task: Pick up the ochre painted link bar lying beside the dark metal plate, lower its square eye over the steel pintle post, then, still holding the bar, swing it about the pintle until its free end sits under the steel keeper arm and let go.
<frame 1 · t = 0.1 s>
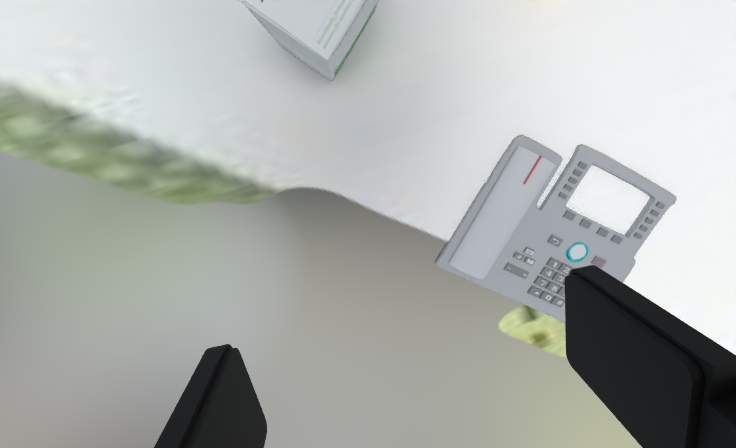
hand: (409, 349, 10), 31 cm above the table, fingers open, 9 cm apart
office telephone: (552, 229, 45), on the table
skincare box: (325, 23, 35), on the table
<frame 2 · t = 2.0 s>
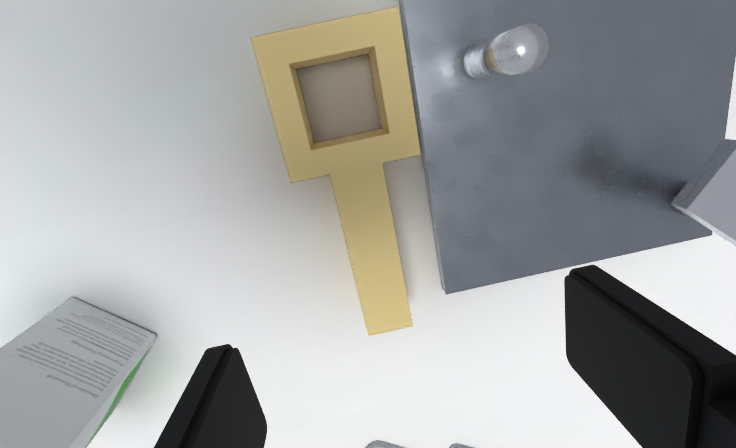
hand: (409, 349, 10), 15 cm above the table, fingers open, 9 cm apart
pintle plate: (569, 124, 24), on the table
skincare box: (94, 351, 27), on the table
link: (383, 302, 27), on the table
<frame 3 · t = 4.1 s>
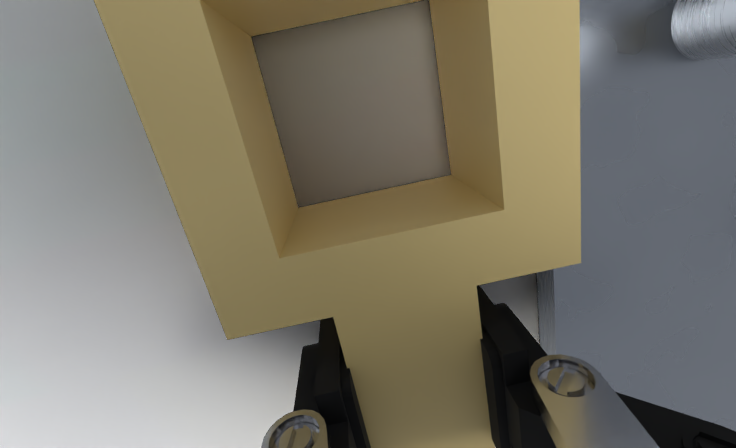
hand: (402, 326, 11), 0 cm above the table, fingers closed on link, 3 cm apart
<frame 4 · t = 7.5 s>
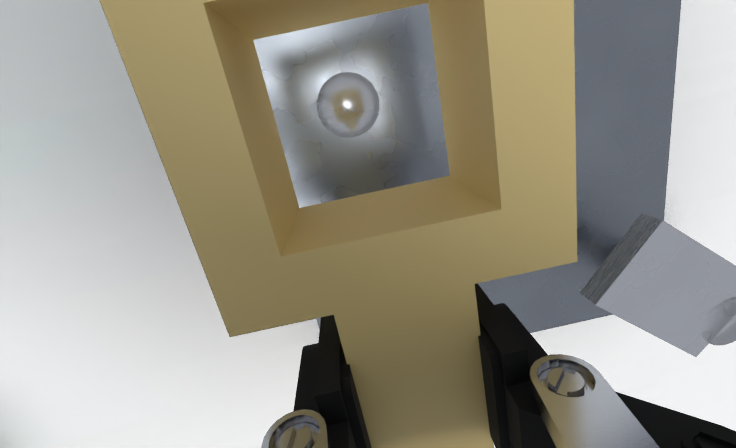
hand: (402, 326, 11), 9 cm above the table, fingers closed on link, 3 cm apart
pintle plate: (473, 176, 20), on the table
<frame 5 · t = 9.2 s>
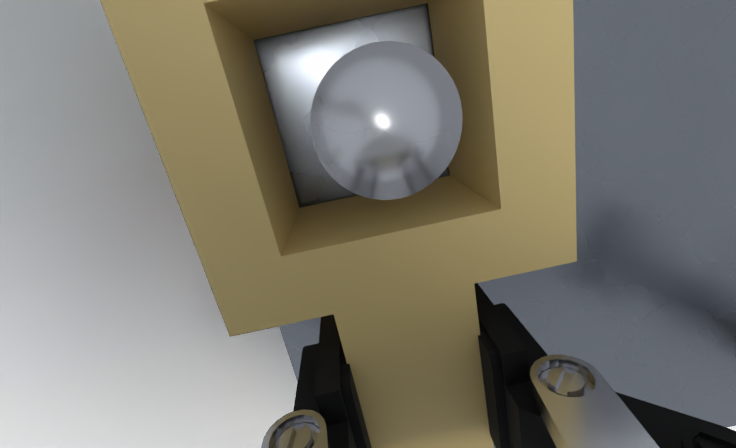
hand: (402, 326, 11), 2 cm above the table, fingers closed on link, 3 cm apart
pintle plate: (560, 224, 13), on the table
when the fingers open (2 cm above the table, at t = 11.0 s): link stays where it is, resting on pintle plate.
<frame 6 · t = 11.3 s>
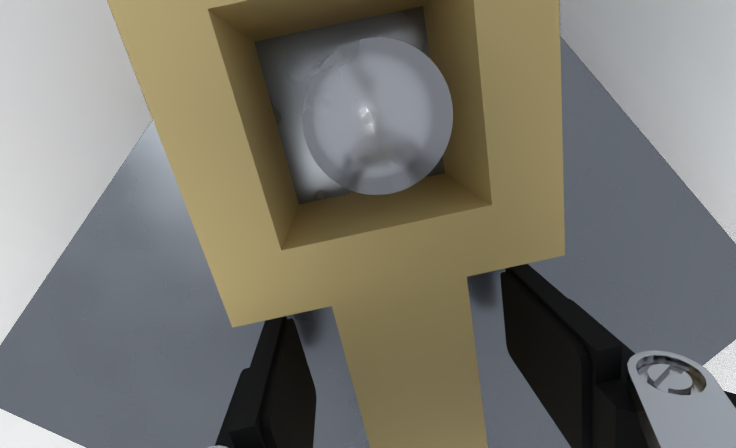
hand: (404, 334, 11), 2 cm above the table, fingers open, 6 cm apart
pintle plate: (393, 327, 14), on the table
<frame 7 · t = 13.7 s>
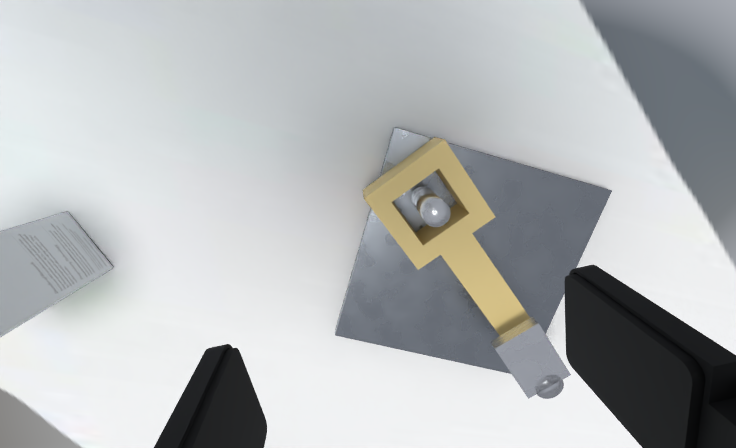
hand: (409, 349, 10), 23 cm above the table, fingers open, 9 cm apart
pintle plate: (464, 261, 35), on the table
skincare box: (58, 256, 33), on the table
link: (506, 317, 35), point 1 cm above the table, touching pintle plate
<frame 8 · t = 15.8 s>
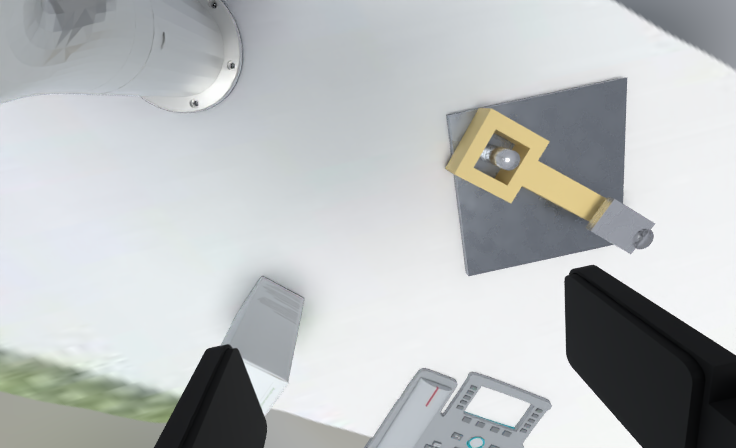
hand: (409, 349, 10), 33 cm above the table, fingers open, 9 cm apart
pintle plate: (537, 182, 44), on the table
office telephone: (457, 423, 57), on the table
skincare box: (267, 307, 47), on the table
link: (587, 206, 45), point 1 cm above the table, touching pintle plate
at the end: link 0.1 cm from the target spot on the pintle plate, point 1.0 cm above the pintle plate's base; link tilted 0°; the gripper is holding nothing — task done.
